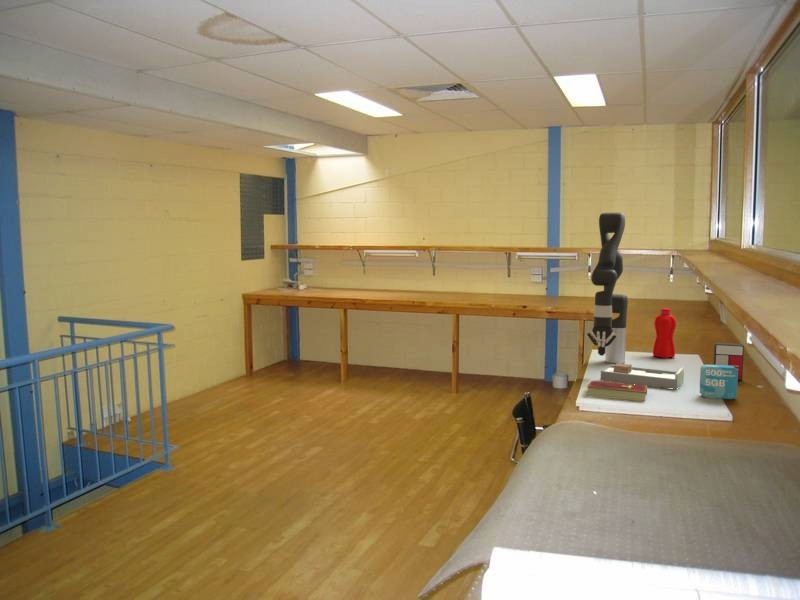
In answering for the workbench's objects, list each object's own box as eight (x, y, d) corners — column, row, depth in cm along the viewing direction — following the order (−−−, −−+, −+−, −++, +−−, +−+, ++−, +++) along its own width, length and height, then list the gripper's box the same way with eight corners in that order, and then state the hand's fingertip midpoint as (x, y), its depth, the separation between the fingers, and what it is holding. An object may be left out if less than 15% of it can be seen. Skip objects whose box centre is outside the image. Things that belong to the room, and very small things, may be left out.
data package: (701, 397, 235) (703, 366, 234) (699, 394, 240) (700, 364, 238) (736, 399, 232) (738, 368, 231) (733, 396, 237) (735, 365, 236)
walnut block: (617, 369, 271) (617, 363, 271) (631, 371, 268) (631, 364, 268) (613, 372, 266) (613, 365, 266) (628, 373, 263) (628, 366, 263)
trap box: (610, 373, 278) (611, 360, 278) (683, 381, 262) (684, 367, 262) (600, 380, 264) (600, 366, 263) (676, 389, 248) (677, 374, 247)
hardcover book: (590, 390, 249) (590, 379, 249) (646, 395, 240) (647, 384, 240) (586, 396, 238) (586, 385, 238) (645, 402, 230) (645, 391, 229)
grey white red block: (713, 378, 268) (715, 344, 266) (712, 376, 272) (714, 342, 270) (742, 380, 264) (744, 345, 263) (740, 378, 268) (742, 344, 267)
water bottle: (662, 354, 326) (664, 306, 323) (677, 358, 315) (679, 309, 313) (647, 355, 323) (649, 307, 321) (662, 359, 312) (664, 309, 310)
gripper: (620, 315, 269) (619, 355, 271) (590, 314, 276) (588, 352, 278) (616, 317, 263) (615, 358, 264) (585, 315, 270) (583, 354, 271)
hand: (601, 355), depth 271 cm, fingers closed
